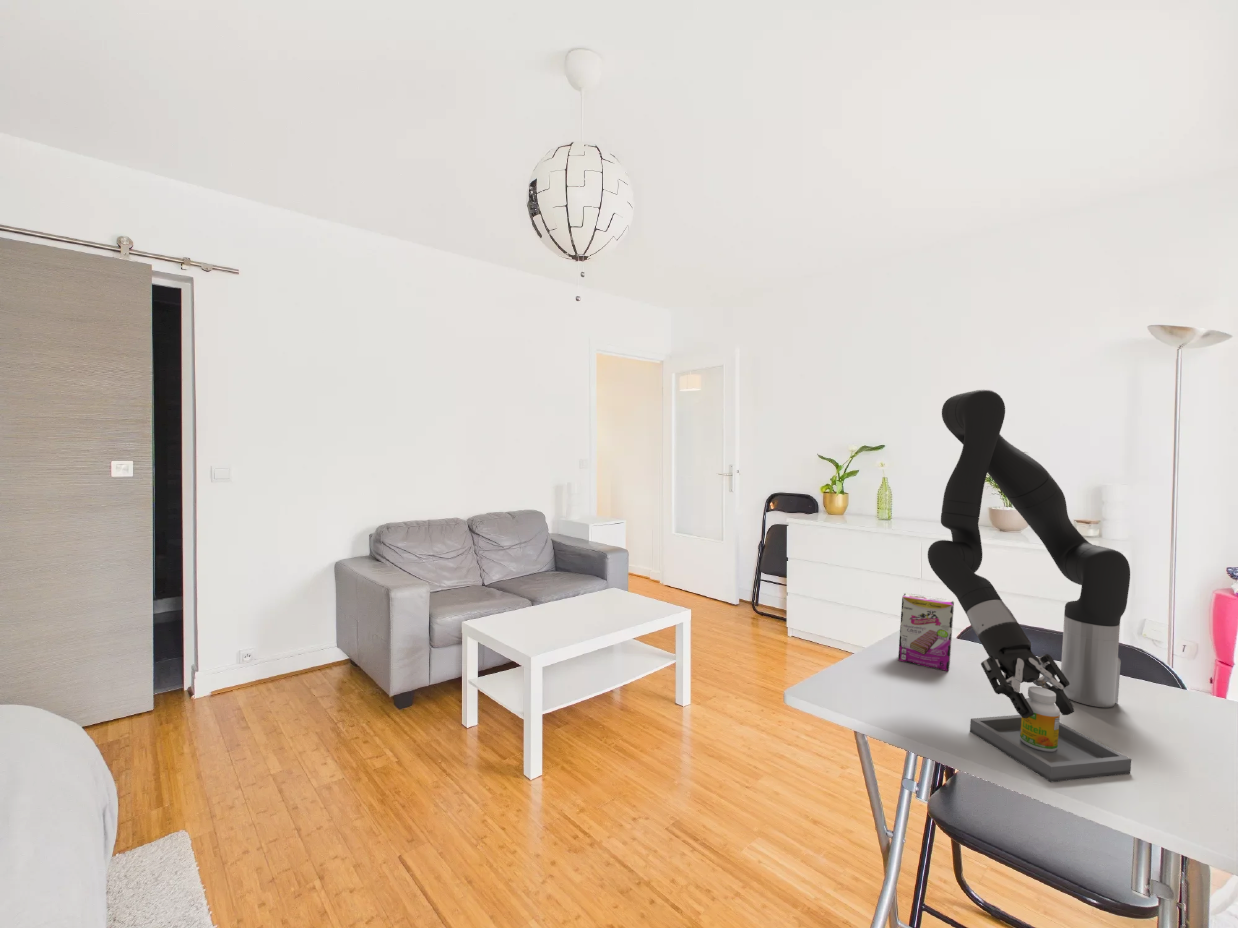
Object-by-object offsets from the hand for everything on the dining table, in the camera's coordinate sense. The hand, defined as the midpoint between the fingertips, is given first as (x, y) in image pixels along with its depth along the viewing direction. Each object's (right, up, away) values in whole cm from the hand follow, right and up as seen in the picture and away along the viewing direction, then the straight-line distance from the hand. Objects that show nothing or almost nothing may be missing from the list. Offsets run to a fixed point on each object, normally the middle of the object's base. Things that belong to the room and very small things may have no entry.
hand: (1049, 715), depth 99 cm
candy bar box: (0, -5, +40) cm, 41 cm away
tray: (0, -7, +1) cm, 7 cm away
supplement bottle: (-1, -6, +2) cm, 6 cm away
